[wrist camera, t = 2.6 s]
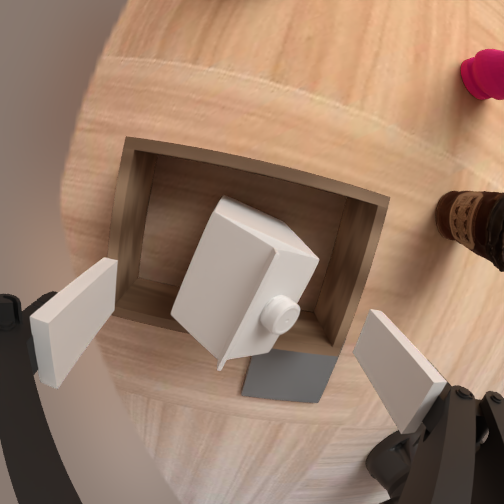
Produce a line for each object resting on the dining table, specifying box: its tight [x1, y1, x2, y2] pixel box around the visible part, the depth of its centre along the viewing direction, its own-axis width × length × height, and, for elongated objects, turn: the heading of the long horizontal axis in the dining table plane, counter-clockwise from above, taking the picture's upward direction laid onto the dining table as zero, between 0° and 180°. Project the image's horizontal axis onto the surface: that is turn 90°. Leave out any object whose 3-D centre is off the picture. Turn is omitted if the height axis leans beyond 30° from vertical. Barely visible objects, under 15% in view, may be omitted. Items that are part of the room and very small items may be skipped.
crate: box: [107, 136, 390, 357], centre depth 29 cm, size 16×23×8 cm
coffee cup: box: [436, 191, 504, 272], centre depth 27 cm, size 9×8×13 cm
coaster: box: [241, 339, 346, 403], centre depth 37 cm, size 11×11×1 cm
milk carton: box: [171, 195, 319, 371], centre depth 24 cm, size 7×7×19 cm
